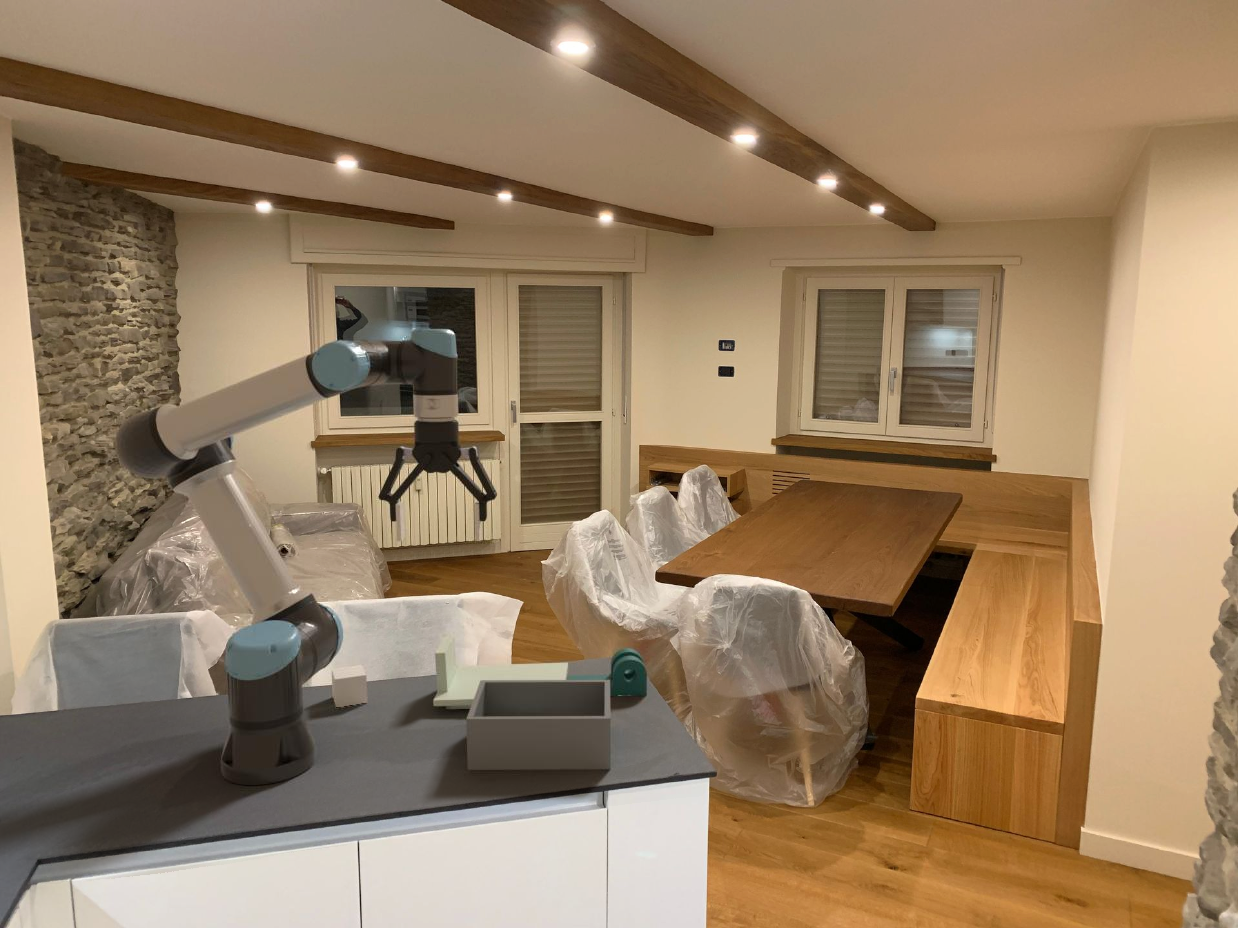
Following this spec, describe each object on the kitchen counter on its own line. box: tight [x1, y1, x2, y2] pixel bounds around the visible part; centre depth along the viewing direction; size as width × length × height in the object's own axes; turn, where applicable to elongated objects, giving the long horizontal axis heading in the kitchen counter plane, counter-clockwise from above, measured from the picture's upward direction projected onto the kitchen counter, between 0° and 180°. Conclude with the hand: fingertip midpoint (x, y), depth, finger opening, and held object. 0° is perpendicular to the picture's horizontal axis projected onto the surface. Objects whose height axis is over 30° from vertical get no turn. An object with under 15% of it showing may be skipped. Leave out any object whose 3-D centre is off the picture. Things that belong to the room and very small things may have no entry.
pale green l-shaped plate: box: [432, 635, 569, 710], centre depth 181 cm, size 25×18×11 cm
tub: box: [465, 680, 611, 771], centre depth 159 cm, size 24×17×9 cm
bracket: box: [567, 647, 648, 697], centre depth 184 cm, size 18×7×8 cm, turn 95°
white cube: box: [331, 664, 368, 708], centre depth 179 cm, size 6×6×6 cm
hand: (439, 539), depth 158 cm, fingers open, 13 cm apart
